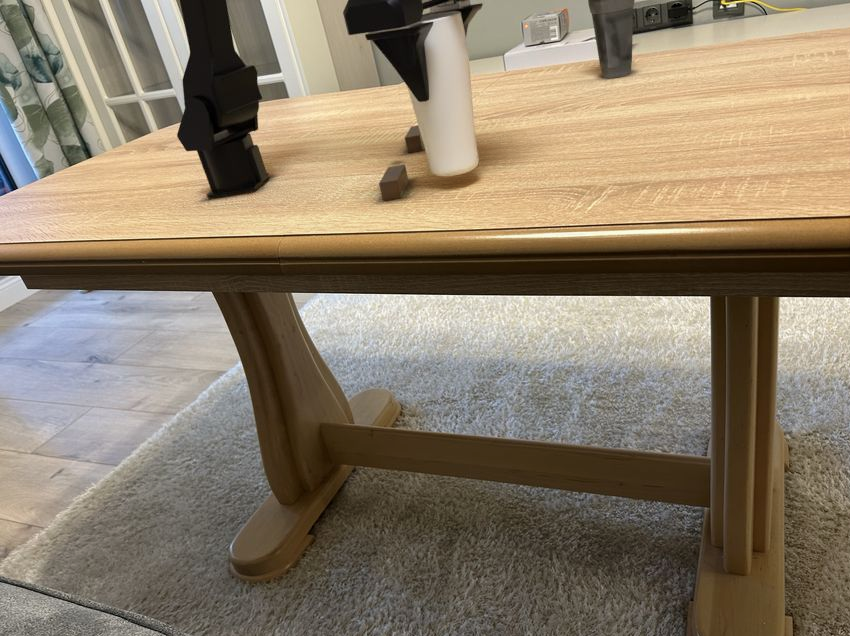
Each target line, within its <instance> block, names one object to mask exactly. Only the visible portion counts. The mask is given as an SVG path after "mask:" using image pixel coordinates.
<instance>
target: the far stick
mask: <svg viewBox="0 0 850 636" xmlns="http://www.w3.org/2000/svg"><path fill="white" fill-rule="evenodd" d="M404 141H405V146H406V151H407V153H408V154H409V153H415V152H422V151H424V149H425V147H424V144H423V140H422V136H421V133H420V129H419V126H418V124H417V125H412V126H410V128H409V129H408V131H407V133H406V134H405V136H404Z"/></svg>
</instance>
